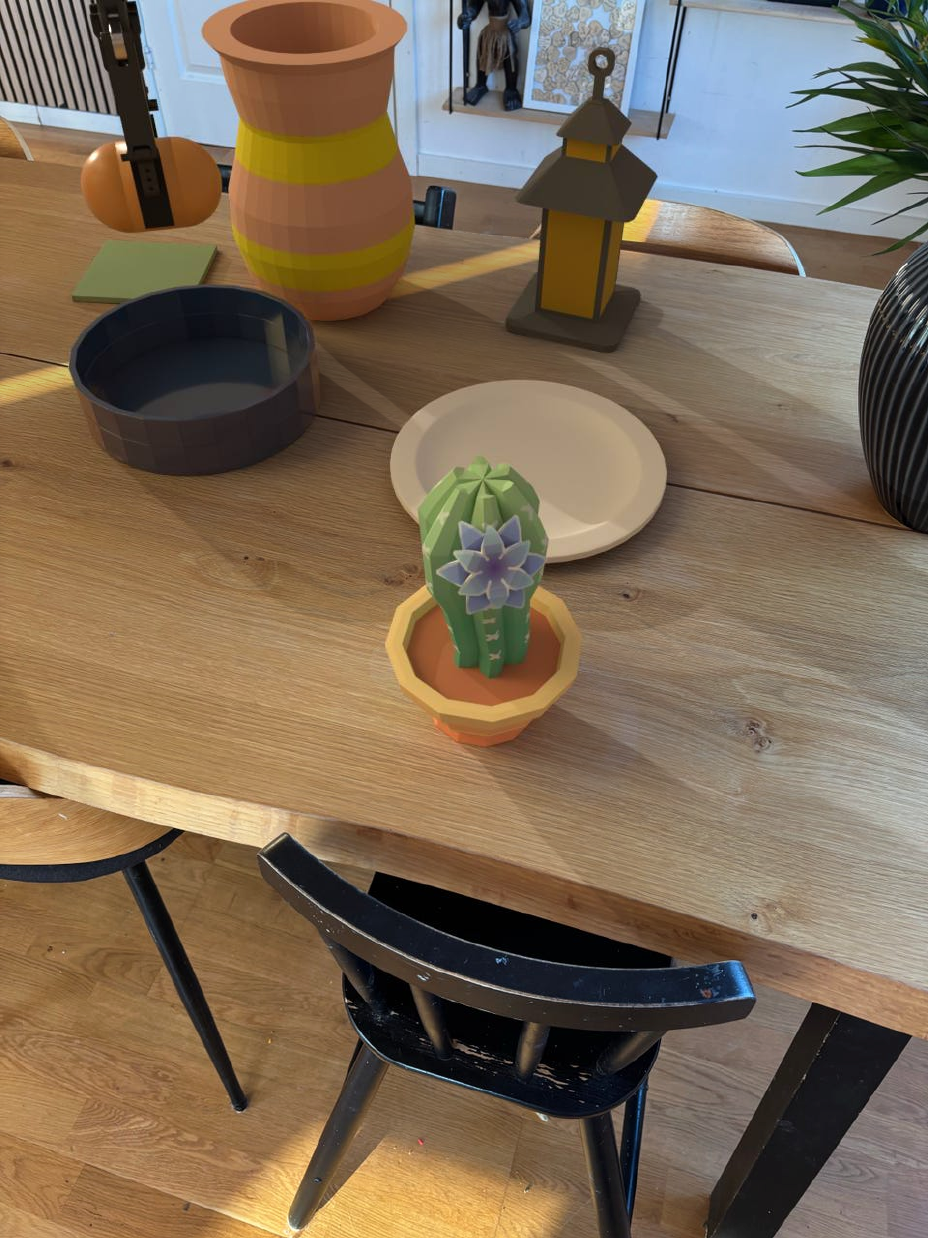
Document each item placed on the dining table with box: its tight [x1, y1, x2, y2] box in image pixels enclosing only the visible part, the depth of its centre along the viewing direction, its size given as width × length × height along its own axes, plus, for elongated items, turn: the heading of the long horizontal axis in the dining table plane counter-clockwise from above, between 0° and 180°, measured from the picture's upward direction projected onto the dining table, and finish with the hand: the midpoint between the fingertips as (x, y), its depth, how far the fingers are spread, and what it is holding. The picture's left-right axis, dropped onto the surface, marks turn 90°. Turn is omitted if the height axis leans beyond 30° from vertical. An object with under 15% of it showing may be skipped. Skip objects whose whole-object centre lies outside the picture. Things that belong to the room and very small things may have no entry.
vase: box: [200, 0, 416, 322], centre depth 114 cm, size 22×22×30 cm
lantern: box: [505, 46, 659, 354], centre depth 111 cm, size 14×14×30 cm
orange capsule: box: [80, 136, 223, 234], centre depth 94 cm, size 13×8×8 cm, turn 105°
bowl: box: [67, 283, 322, 477], centre depth 106 cm, size 25×25×7 cm
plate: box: [389, 379, 668, 564], centre depth 100 cm, size 28×28×2 cm
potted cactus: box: [384, 456, 584, 748], centre depth 73 cm, size 15×15×25 cm
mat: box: [70, 239, 219, 304], centre depth 126 cm, size 15×14×1 cm
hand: (156, 204), depth 95 cm, fingers closed on orange capsule, 8 cm apart
